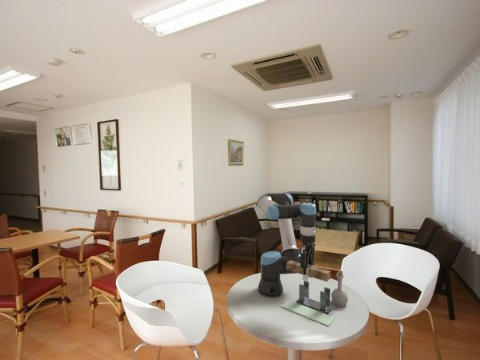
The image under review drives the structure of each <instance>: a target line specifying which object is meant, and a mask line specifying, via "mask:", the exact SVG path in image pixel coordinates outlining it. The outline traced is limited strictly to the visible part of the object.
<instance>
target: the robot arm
mask: <svg viewBox="0 0 480 360" xmlns="http://www.w3.org/2000/svg"><path fill="white" fill-rule="evenodd" d="M257 206H258V208H259V209H260V210H261V211H265V212H266V216H267V218H268V220H275V221H276V220H278V221H277V222H278V227H279V232H280V239H281V245H282V250H281V252H280V251H276V250H269V251H266V252H263V253H262V255H261V257H260V279H259V283H258V286H257V291H258V293H259V295H261V296H263V297H266V298H267V297H269V298H276V297H280V296H282V295H283V294H284V293H283V292H284V286H283V284H282V281H281V275H293V274H295V275H297V274H298V273H296V272H292V271H289V270H287V262H288V261H290V260H291V261H295V262H298V263H300V268H303V275H302V280H303V281H307V282H309V279H313V278H312V277H309V276H308V268H307V267H308V265H310V266H315V256H316V255H315V249H316V244H315V243H316V238H317V237H316V236H317V235H316V231H317V229H316V227H317V226H316V223H317V222H316V221H317V220H316V219H317V217H316V215H317V206H316V204H315V203H311V202H309V203H308V202H305V203H295V204H294V198H293V197H292V195H291V194H290V193H287V192H274V193H272V192H269V193H268V192H267V193H265V194H263V195H260V197H259V198H258V200H257ZM293 219H294V220H297V219H299V221H300V229H299V231H300V232H299V233H300V234H299V235H300V237H299V238H300V239H299V241H300V242H301V243H302V245H301V246H302V247H301V248H298V247H297V242H296V236H295V233H294V226H293Z"/></svg>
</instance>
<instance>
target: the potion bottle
mask: <svg viewBox="0 0 480 360" xmlns="http://www.w3.org/2000/svg"><path fill="white" fill-rule="evenodd" d="M343 273H344V272H343V270H339V271H337V273H336V278H337V287H336V288H334V289H333V290H332V292H331V293H330V299H331V300H332V303H333V304H334V305H335V306H337V307H345V306H346V305H347V304H348V301H349V297H348V293H347V291H346V290H345V289H343V279H344V274H343Z"/></svg>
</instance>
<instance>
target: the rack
mask: <svg viewBox="0 0 480 360" xmlns="http://www.w3.org/2000/svg"><path fill="white" fill-rule="evenodd" d="M298 290H299V291H298V299H296V300H295V301H296V302H295V303H298V304H300V305H303V306H306V307H308V308H311V309H313V310H316V311H319V312H321V313H324V314H327V315H329V314H330V312H331V311H332V310H333V309H334V306H332V305H331V288H330V287H326V286H324V288H323V290H320V292H319V301H318V300H315V299H312V298H310V281H305V280H303V284H301V283H299V284H298Z"/></svg>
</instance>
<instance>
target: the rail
mask: <svg viewBox="0 0 480 360" xmlns="http://www.w3.org/2000/svg"><path fill="white" fill-rule="evenodd" d="M307 268H308V276H309V277H312V278H311V279H315V280H319V281H322V282H327V283H328V282H329V281H330V279H331V270H328V269H324V268H320V267H317V266H314V265H312V266H310V265H308V267H307ZM287 270H289V271H292V272H296V273H297V274H300V275H302V276H303V268H300V263H298V262H295V261H291V260H290V261H288V262H287ZM309 277H308V278H309Z"/></svg>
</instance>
